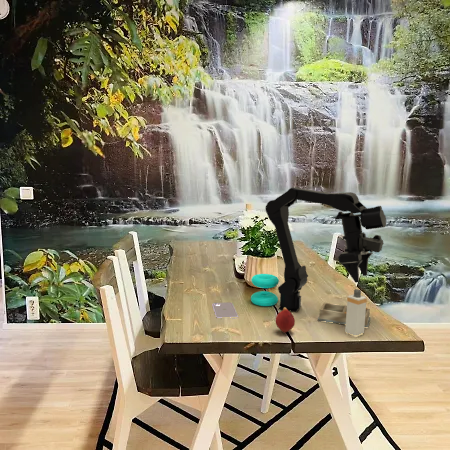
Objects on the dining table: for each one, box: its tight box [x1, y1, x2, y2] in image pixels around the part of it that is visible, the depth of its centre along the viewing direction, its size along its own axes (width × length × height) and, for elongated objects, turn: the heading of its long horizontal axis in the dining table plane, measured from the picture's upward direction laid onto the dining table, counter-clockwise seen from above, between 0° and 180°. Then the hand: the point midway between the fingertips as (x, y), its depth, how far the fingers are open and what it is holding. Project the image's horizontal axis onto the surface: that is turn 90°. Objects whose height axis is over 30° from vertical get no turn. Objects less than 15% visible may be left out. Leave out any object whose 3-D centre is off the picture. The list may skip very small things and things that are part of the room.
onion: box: [275, 308, 296, 334], centre depth 140 cm, size 6×6×8 cm
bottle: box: [344, 288, 368, 335], centre depth 139 cm, size 4×4×14 cm
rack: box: [317, 302, 371, 328], centre depth 151 cm, size 16×9×4 cm, turn 68°
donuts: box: [250, 273, 280, 307], centre depth 167 cm, size 10×10×10 cm
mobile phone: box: [211, 302, 239, 319], centre depth 158 cm, size 8×1×15 cm
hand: (361, 278), depth 147 cm, fingers open, 9 cm apart
